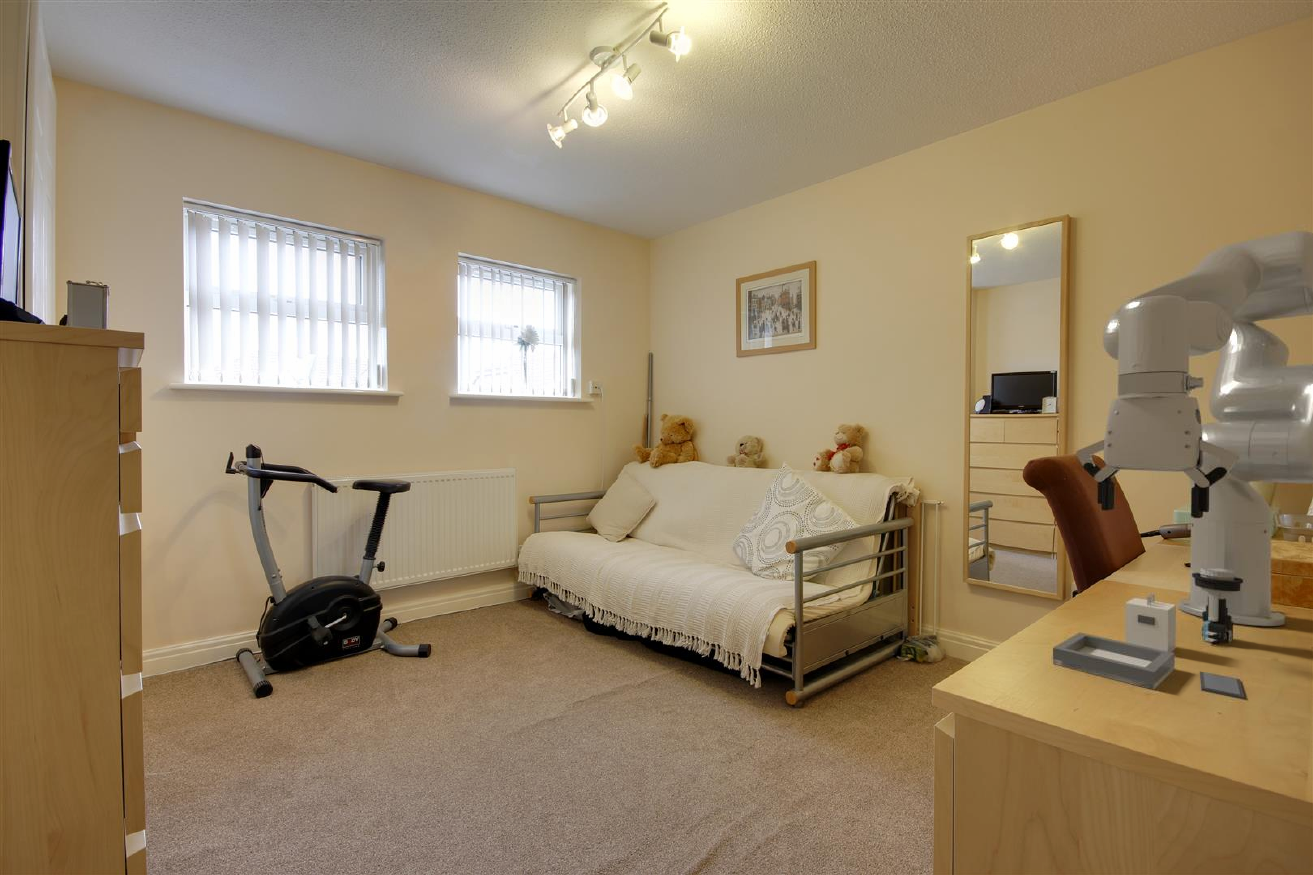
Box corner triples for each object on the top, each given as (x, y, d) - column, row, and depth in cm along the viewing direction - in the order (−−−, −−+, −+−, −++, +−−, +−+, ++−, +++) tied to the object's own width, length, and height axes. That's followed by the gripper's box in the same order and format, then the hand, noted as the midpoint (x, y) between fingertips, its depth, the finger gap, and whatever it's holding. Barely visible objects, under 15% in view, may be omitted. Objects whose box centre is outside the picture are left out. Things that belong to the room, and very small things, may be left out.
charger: (1134, 639, 86) (1134, 589, 86) (1175, 648, 82) (1175, 595, 82) (1125, 646, 83) (1125, 594, 83) (1167, 655, 79) (1167, 601, 79)
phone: (1199, 677, 73) (1199, 670, 73) (1239, 685, 71) (1239, 678, 71) (1201, 695, 68) (1201, 687, 68) (1244, 704, 66) (1244, 696, 66)
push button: (1233, 650, 81) (1233, 576, 81) (1182, 639, 86) (1183, 569, 86) (1247, 642, 85) (1248, 571, 85) (1198, 631, 90) (1199, 564, 90)
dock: (1079, 646, 82) (1079, 632, 82) (1174, 669, 74) (1174, 653, 74) (1052, 663, 76) (1053, 647, 76) (1153, 689, 68) (1153, 672, 68)
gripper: (1244, 387, 78) (1242, 519, 78) (1086, 393, 92) (1084, 506, 91) (1234, 382, 73) (1232, 522, 73) (1069, 390, 87) (1067, 508, 87)
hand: (1150, 513), depth 82 cm, fingers open, 9 cm apart
